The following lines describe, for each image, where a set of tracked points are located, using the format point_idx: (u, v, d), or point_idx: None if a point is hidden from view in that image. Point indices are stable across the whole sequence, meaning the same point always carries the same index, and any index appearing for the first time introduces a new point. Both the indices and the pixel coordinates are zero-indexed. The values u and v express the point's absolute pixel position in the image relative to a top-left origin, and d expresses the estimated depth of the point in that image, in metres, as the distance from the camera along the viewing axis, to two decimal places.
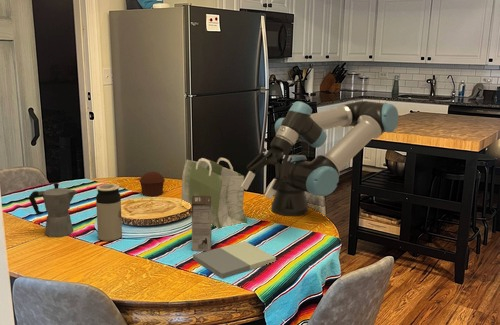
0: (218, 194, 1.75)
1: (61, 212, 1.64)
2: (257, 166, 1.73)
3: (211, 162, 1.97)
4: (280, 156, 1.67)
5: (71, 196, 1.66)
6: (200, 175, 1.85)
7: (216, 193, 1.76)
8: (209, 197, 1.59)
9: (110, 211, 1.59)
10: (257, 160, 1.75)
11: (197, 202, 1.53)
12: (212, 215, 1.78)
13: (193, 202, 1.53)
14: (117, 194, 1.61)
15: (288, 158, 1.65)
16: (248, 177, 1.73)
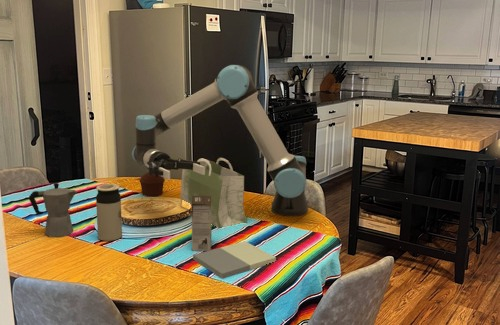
0: (218, 194, 1.75)
1: (61, 212, 1.64)
2: (186, 167, 1.73)
3: (210, 162, 1.97)
4: None
5: (71, 196, 1.66)
6: (199, 175, 1.85)
7: (216, 193, 1.76)
8: (209, 197, 1.59)
9: (110, 211, 1.59)
10: None
11: (197, 202, 1.53)
12: (212, 215, 1.78)
13: (193, 202, 1.53)
14: (117, 194, 1.61)
15: (147, 166, 1.70)
16: (196, 170, 1.70)
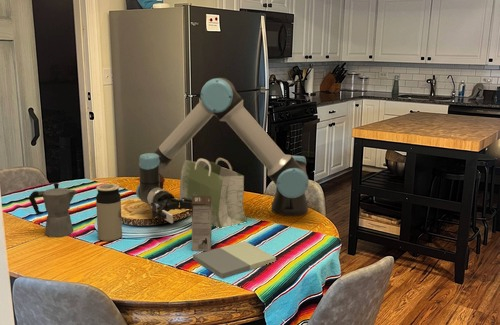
0: (218, 194, 1.75)
1: (61, 212, 1.64)
2: (190, 207, 1.73)
3: (209, 162, 1.97)
4: None
5: (71, 196, 1.66)
6: (199, 175, 1.85)
7: (216, 193, 1.76)
8: (208, 197, 1.59)
9: (110, 211, 1.59)
10: None
11: (197, 202, 1.53)
12: (212, 215, 1.78)
13: (193, 202, 1.53)
14: (117, 194, 1.61)
15: (151, 208, 1.70)
16: None
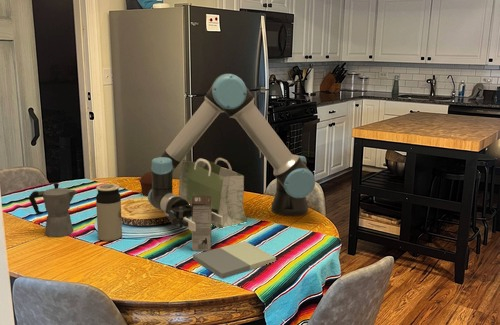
0: (219, 194, 1.75)
1: (61, 212, 1.64)
2: None
3: (208, 162, 1.97)
4: (175, 215, 1.65)
5: (71, 196, 1.66)
6: (199, 175, 1.85)
7: (216, 193, 1.76)
8: (208, 197, 1.59)
9: (110, 211, 1.59)
10: None
11: (197, 202, 1.53)
12: None
13: (193, 202, 1.53)
14: (117, 194, 1.61)
15: (166, 215, 1.63)
16: (214, 220, 1.61)
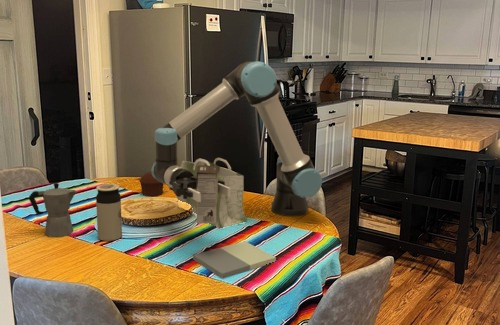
0: (219, 194, 1.75)
1: (61, 212, 1.64)
2: None
3: None
4: (179, 187, 1.55)
5: (71, 196, 1.66)
6: None
7: None
8: (215, 166, 1.49)
9: (110, 211, 1.59)
10: None
11: (202, 171, 1.43)
12: None
13: (198, 171, 1.43)
14: (117, 194, 1.61)
15: (170, 187, 1.53)
16: (220, 191, 1.50)
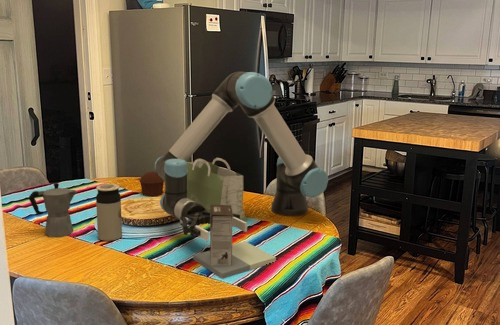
0: (219, 194, 1.75)
1: (61, 212, 1.64)
2: None
3: None
4: (190, 222, 1.50)
5: (71, 196, 1.66)
6: (197, 176, 1.84)
7: (216, 193, 1.76)
8: (229, 206, 1.45)
9: (110, 211, 1.59)
10: None
11: (216, 212, 1.38)
12: None
13: (212, 212, 1.38)
14: (117, 194, 1.61)
15: (181, 222, 1.48)
16: (237, 226, 1.48)
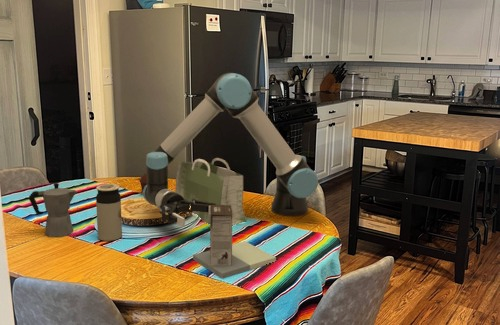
0: (219, 194, 1.74)
1: (61, 212, 1.64)
2: (201, 210, 1.62)
3: (205, 162, 1.96)
4: (169, 211, 1.61)
5: (71, 196, 1.66)
6: (197, 176, 1.84)
7: (216, 194, 1.76)
8: (228, 206, 1.45)
9: (110, 211, 1.59)
10: None
11: (216, 212, 1.38)
12: None
13: (212, 212, 1.38)
14: (117, 194, 1.61)
15: (160, 210, 1.59)
16: None
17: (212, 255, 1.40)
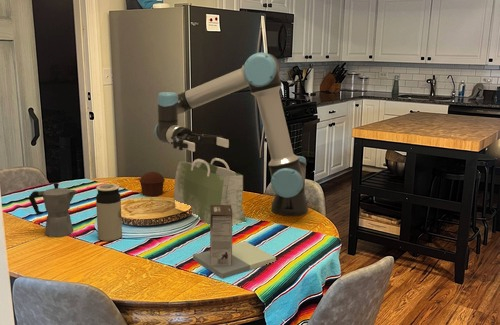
0: (219, 194, 1.74)
1: (61, 212, 1.64)
2: (209, 141, 1.73)
3: (204, 163, 1.96)
4: None
5: (71, 196, 1.66)
6: (196, 176, 1.84)
7: (216, 194, 1.76)
8: (228, 206, 1.45)
9: (110, 211, 1.59)
10: None
11: (216, 212, 1.38)
12: None
13: (212, 212, 1.38)
14: (117, 194, 1.61)
15: (171, 141, 1.71)
16: (220, 144, 1.70)
17: (212, 255, 1.40)
